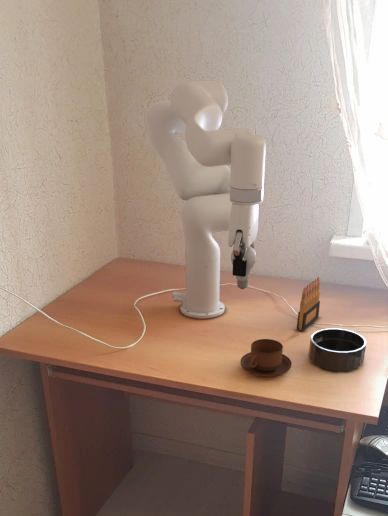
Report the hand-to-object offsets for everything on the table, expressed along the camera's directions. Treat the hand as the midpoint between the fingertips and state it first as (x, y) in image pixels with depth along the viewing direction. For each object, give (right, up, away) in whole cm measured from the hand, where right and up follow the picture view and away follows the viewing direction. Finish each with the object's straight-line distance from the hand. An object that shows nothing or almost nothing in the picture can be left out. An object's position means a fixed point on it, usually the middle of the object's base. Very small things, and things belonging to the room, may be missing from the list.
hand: (243, 270), depth 150 cm
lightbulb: (0, -4, +3) cm, 5 cm away
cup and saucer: (+5, -24, -2) cm, 25 cm away
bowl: (+23, -22, +2) cm, 31 cm away
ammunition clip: (+19, -11, +20) cm, 30 cm away
